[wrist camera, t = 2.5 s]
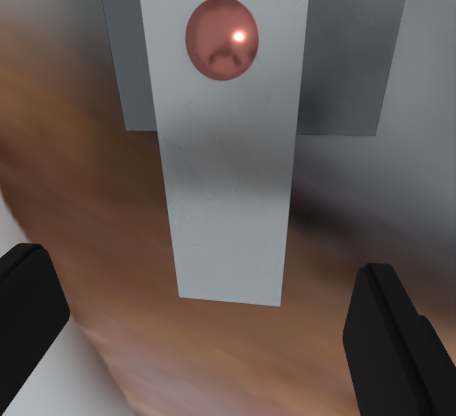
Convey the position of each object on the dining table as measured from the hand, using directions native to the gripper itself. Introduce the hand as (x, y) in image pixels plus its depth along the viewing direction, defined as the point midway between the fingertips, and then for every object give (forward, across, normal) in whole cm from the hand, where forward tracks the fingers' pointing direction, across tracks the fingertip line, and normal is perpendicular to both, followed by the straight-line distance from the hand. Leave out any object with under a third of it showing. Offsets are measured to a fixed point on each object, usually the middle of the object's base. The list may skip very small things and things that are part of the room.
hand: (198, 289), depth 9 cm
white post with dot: (+6, -1, -5) cm, 7 cm away
